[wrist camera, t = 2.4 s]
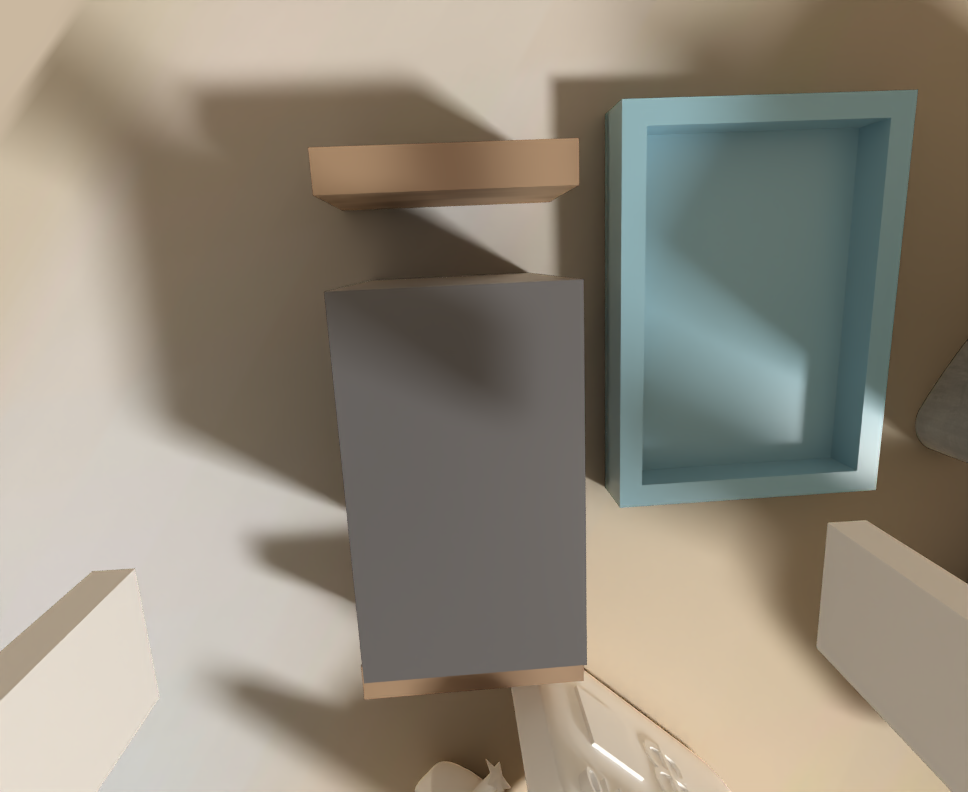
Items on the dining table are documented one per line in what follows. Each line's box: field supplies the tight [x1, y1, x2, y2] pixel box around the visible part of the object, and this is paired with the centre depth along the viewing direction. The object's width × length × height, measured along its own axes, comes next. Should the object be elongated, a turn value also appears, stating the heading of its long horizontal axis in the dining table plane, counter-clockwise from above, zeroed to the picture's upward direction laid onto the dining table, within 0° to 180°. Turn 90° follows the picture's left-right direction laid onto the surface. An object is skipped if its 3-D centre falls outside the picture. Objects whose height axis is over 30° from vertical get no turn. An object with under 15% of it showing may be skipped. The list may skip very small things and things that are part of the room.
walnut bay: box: [308, 138, 584, 700], centre depth 25 cm, size 9×21×6 cm, turn 3°
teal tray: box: [605, 90, 918, 508], centre depth 27 cm, size 12×17×2 cm
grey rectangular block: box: [324, 273, 587, 683], centre depth 23 cm, size 7×12×11 cm, turn 3°
